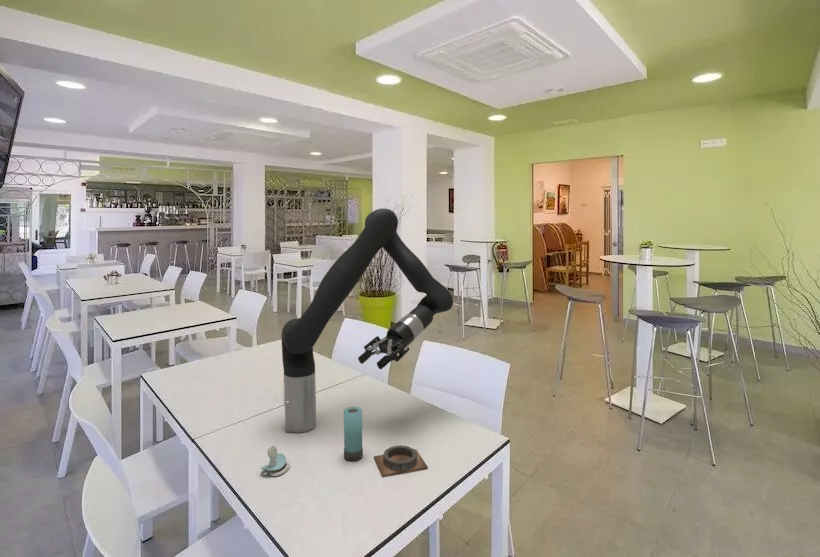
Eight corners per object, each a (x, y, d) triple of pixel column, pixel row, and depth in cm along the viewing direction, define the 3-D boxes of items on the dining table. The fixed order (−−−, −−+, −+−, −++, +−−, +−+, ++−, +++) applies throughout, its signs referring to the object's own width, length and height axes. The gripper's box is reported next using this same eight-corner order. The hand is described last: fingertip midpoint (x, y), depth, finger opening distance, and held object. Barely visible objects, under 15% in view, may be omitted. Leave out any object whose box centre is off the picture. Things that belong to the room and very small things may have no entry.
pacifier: (294, 464, 113) (274, 460, 115) (294, 442, 112) (274, 438, 114) (278, 480, 106) (257, 475, 108) (278, 457, 105) (257, 452, 107)
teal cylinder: (345, 463, 114) (345, 415, 112) (342, 453, 119) (341, 408, 117) (364, 459, 115) (364, 413, 114) (360, 450, 120) (360, 405, 118)
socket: (382, 477, 108) (382, 467, 107) (373, 458, 116) (373, 449, 116) (427, 468, 112) (427, 459, 111) (416, 451, 120) (416, 442, 120)
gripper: (385, 318, 136) (348, 349, 127) (417, 323, 126) (380, 357, 117) (394, 337, 139) (358, 369, 130) (426, 344, 129) (390, 379, 120)
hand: (368, 363), depth 123 cm, fingers open, 8 cm apart
